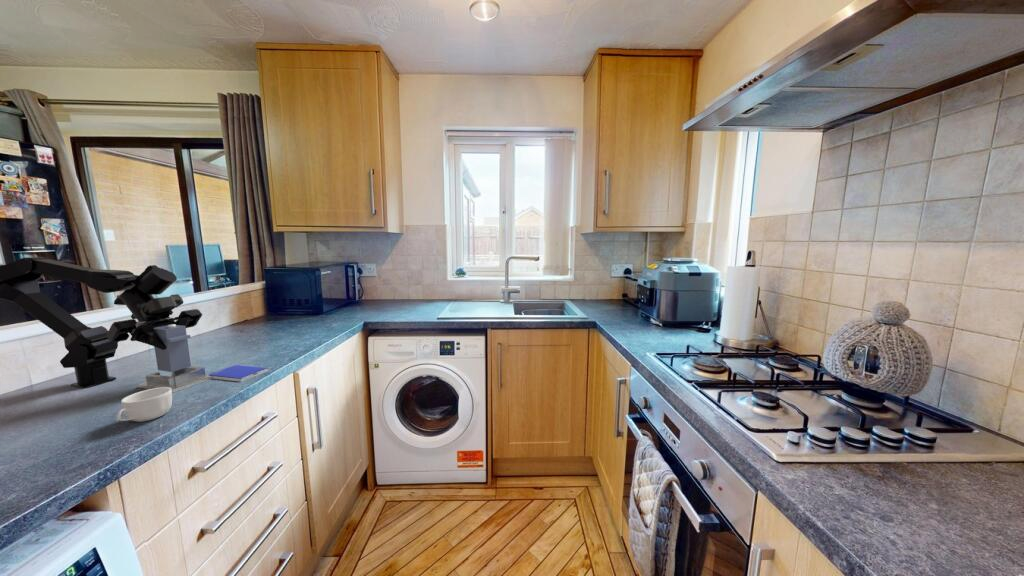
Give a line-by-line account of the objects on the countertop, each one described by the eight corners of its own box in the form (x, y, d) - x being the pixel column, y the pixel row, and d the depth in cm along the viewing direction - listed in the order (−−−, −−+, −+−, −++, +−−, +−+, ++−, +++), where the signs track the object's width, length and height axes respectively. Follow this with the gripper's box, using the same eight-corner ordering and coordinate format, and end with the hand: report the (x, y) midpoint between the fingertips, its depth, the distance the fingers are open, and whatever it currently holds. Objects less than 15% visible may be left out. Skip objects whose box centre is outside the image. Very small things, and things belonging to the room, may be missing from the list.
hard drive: (208, 374, 98) (240, 377, 95) (236, 364, 106) (267, 367, 103) (208, 379, 98) (241, 382, 95) (237, 369, 106) (268, 372, 103)
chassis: (137, 387, 92) (135, 376, 91) (181, 373, 101) (180, 363, 101) (172, 392, 88) (170, 380, 88) (214, 378, 98) (213, 367, 97)
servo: (154, 369, 93) (147, 325, 92) (174, 364, 98) (168, 322, 96) (175, 372, 91) (168, 327, 89) (194, 366, 95) (188, 323, 94)
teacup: (152, 408, 80) (149, 387, 79) (184, 408, 80) (181, 386, 79) (101, 431, 70) (97, 407, 69) (138, 431, 70) (134, 407, 69)
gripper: (106, 291, 83) (142, 336, 82) (194, 282, 101) (224, 320, 100) (91, 320, 86) (126, 364, 85) (179, 307, 104) (209, 343, 103)
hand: (176, 346), depth 93 cm, fingers closed on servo, 4 cm apart
